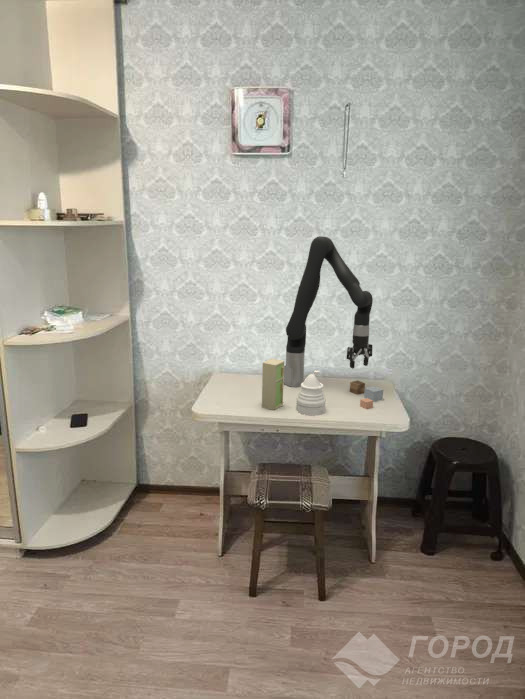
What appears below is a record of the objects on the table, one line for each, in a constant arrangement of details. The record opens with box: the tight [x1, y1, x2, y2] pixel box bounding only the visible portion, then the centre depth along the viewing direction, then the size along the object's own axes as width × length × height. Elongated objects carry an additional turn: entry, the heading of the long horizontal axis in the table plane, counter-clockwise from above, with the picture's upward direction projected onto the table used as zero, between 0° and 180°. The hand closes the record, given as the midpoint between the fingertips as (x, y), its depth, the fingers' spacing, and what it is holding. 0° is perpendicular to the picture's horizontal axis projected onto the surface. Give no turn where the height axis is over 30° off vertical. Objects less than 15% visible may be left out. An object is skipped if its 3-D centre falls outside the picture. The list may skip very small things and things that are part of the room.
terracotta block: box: [359, 398, 374, 410], centre depth 237 cm, size 4×4×4 cm
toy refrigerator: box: [261, 358, 285, 411], centre depth 235 cm, size 8×7×21 cm
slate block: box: [363, 386, 384, 403], centre depth 247 cm, size 6×6×5 cm
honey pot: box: [295, 370, 327, 416], centre depth 232 cm, size 13×13×18 cm
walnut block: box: [349, 380, 366, 395], centre depth 256 cm, size 5×5×5 cm
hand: (358, 366), depth 253 cm, fingers open, 8 cm apart
